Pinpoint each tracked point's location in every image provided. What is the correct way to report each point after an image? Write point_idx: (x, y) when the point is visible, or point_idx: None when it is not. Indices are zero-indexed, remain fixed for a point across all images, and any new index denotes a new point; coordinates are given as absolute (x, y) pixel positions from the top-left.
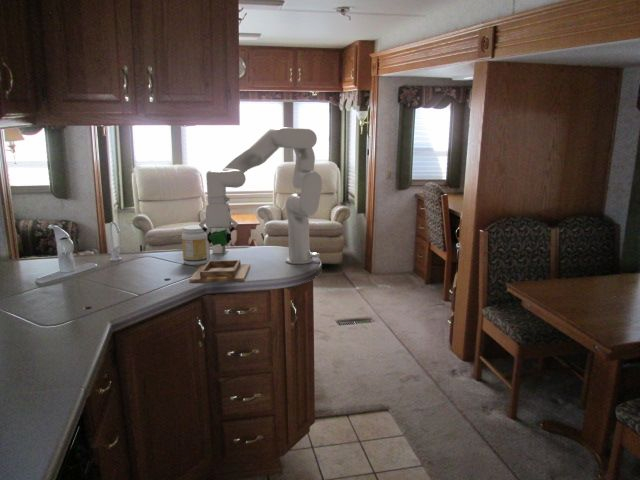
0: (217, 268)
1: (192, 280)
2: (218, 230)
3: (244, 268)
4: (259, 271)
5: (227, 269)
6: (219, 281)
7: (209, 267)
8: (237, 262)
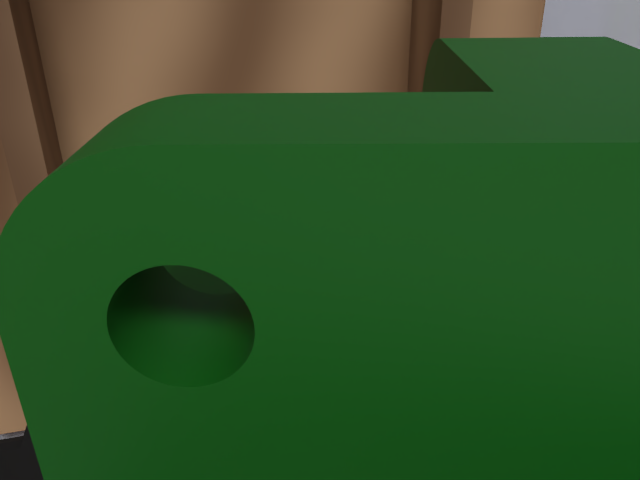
0: (152, 6)
1: (21, 423)
2: (351, 358)
3: (501, 23)
4: (633, 34)
5: (301, 62)
6: None
7: (26, 2)
8: (452, 2)
